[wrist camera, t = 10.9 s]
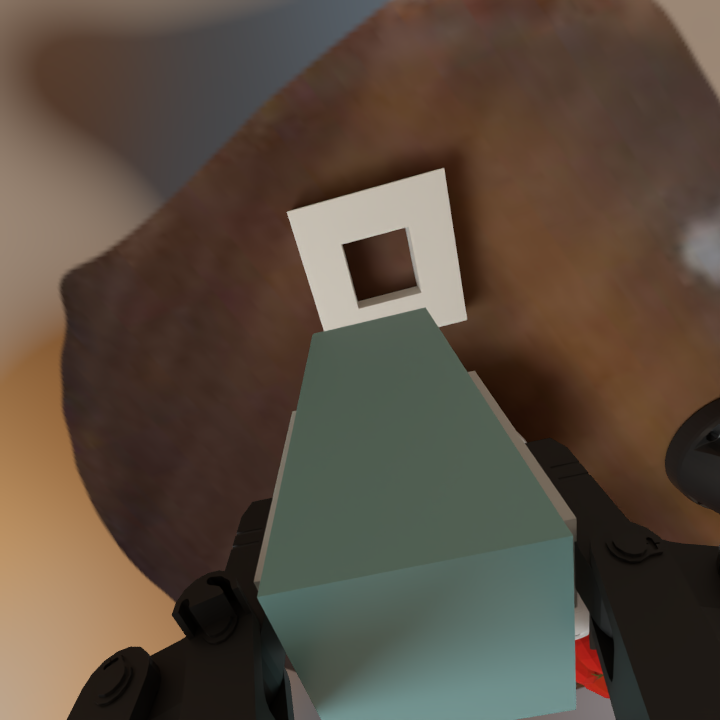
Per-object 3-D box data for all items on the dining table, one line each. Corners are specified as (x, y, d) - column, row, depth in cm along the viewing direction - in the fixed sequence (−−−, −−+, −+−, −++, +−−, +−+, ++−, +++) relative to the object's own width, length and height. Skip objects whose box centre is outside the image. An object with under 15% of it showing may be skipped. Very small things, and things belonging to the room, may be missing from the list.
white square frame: (437, 169, 33) (444, 167, 31) (460, 311, 39) (467, 319, 36) (290, 210, 34) (286, 211, 32) (332, 344, 40) (331, 353, 37)
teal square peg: (425, 307, 17) (573, 535, 6) (442, 405, 19) (576, 709, 8) (312, 334, 17) (256, 597, 6) (341, 427, 19) (337, 749, 8)
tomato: (629, 617, 59) (675, 688, 51) (553, 645, 61) (585, 717, 53) (610, 576, 55) (656, 645, 47) (529, 607, 57) (560, 678, 49)
